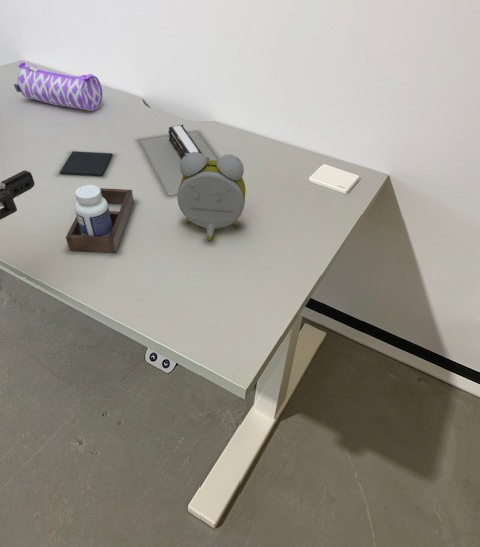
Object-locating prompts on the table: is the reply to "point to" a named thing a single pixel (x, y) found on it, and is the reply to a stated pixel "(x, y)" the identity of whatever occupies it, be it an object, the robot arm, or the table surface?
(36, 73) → the pencil case
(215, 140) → the table surface
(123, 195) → the bottle holder
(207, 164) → the alarm clock
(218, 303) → the table surface
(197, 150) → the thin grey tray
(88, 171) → the rubber pad
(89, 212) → the pill bottle
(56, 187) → the table surface
